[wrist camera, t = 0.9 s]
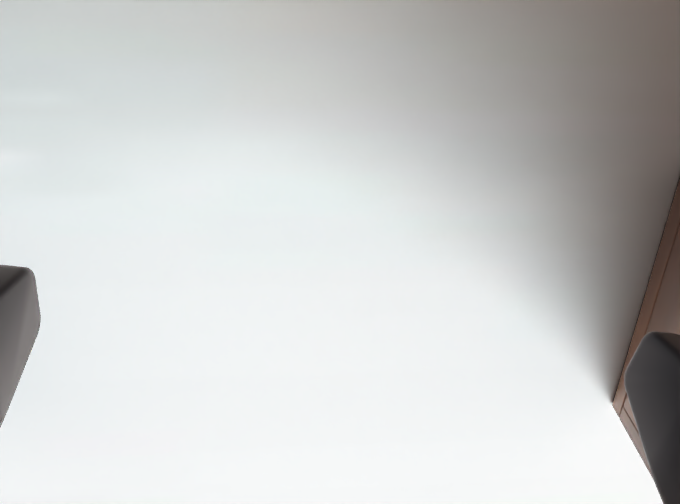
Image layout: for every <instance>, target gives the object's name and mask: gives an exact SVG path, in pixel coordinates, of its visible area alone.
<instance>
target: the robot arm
mask: <svg viewBox="0 0 680 504" xmlns="http://www.w3.org/2000/svg"><path fill="white" fill-rule="evenodd" d="M39 327H40V309H39V302H38V295H37V288H36V281H35V276H34V274H33V272H32V271H31V270H30V269H29V268H26V267H17V266H8V265H0V427H1V425H2V422H3V420H4V418H5V415H6V413H7V410H8V408H9V405H10V403H11V400H12V398H13V395H14V393H15V390H16V388H17V385H18V383H19V380H20V377H21V375H22V372H23V370H24V367H25V365H26V362H27V360H28V357H29V355H30V352H31V350H32V347H33V344H34V342H35V339H36V337H37V334H38V331H39ZM624 386H625V390H626V393H627V397H628V400H629V403H630V406H631V410H632V413H633V416H634V419H635V423H636V426H637V429H638V432H639V436H640V439H641V442H642V445H643V449H644V452H645V455H646V458H647V462H648V465H649V468H650V471H651V474H652V476H653V479H654V482H655V484H656V487H657V489H658V492H659V494H660V497H661V499H662V501H663V504H680V335H678V334H674V333H666V332H656V331H652V332H649V333H647V334H646V335H645V336H644V337H643V338H642V340H641V342H640V344H639V346H638V347H637V349H636V351H635V353H634V355H633V357H632V359H631V360H630V362H629V364H628V366H627V368H626V370H625V374H624Z"/></svg>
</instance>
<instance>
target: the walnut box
mask: <svg viewBox="0 0 680 504" xmlns="http://www.w3.org/2000/svg"><path fill="white" fill-rule="evenodd" d="M652 331H656V332H666V333H674V334H678V335H680V179H679V182H678V185H677V189H676V192H675V196H674V199H673V202H672V206H671V209H670V212H669V216H668V219H667V222H666V226H665V229H664V233H663V236H662V239H661V243H660V246H659V249H658V253H657V256H656V260H655V263H654V266H653V270H652V273H651V276H650V280H649V283H648V287H647V290H646V293H645V297H644V300H643V303H642V307H641V310H640V313H639V317H638V320H637V324H636V327H635V330H634V334H633V337H632V340H631V344H630V347H629V351H628V354H627V357H626V361H625V364H624V367H623V371H622V374H621V378H620V381H619V384H618V388H617V391H616V394H615V398H614V401H613V407H614V409H615V411H616V413H617V415H618V416H619V417H620V420H621V422H622V424H623V425H624V427H625V429H626V431H627V433H628V434H629V436H630V438H631V440H632V442H633V443H634V445H635V447H636V449H637V451H638V452H639V454H640V456H641V458H642V460H643V461H644V463H645V465H646V467H647V469H648V470H649V472H650V474H651V471H650V468H649V465H648V462H647V458H646V455H645V452H644V449H643V445H642V442H641V439H640V436H639V432H638V429H637V426H636V423H635V419H634V416H633V413H632V410H631V406H630V403H629V400H628V397H627V393H626V390H625V386H624V374H625V370H626V368H627V366H628V364H629V362H630V360H631V359H632V357H633V355H634V353H635V351H636V349H637V347H638V346H639V344H640V342H641V340H642V338H643V337H644V336H645V335H646V334H647V333H649V332H652ZM651 476H652V474H651ZM652 478H653V476H652Z"/></svg>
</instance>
